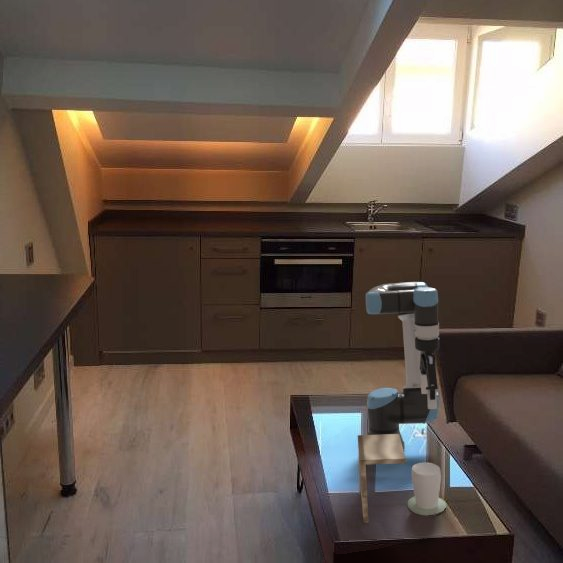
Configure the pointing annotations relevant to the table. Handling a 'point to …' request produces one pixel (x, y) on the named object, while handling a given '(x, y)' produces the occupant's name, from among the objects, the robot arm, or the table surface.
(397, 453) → the shelf
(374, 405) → the robot arm
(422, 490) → the cup
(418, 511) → the mat
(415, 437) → the table surface
